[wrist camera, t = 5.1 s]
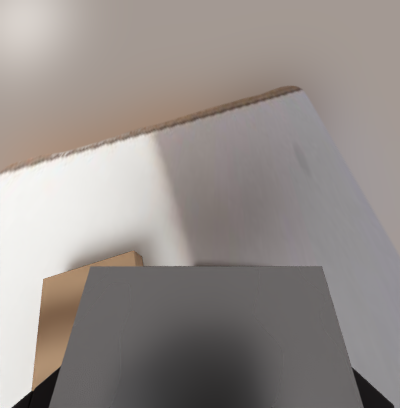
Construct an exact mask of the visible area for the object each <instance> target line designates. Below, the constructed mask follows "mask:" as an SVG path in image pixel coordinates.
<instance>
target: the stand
mask: <svg viewBox="0 0 400 408" xmlns="http://www.w3.org/2000/svg"><path fill="white" fill-rule="evenodd" d="M90 266H143V261H142V256H140V255H139V254H138V253H136V252H135V251H134V250H133V251H130V252H127V253H124V254H121V255H118V256H114V257H111V258H108V259H105V260H102V261H99V262H96V263H92V264H89V265H86V266H83V267H80V268H77V269H73V270H70V271H67V272H64V273H61V274H58V275H55V276H51V277H48V278H45V279H43V287H42V297H41V306H40V316H39V325H38V335H37V345H36V354H35V364H34V373H33V383H32V391H34V389H35V388H36V387H37V386H38V385H39V384H40V383H41V382H43V381H44V380H45V379H46V378H47V377H48V376H50V375H51V374H52V373H53V372H54V371H55V370H57V369H58V368H59V367H60V366H61V365H62V361H63V358H64V354H65V351H66V348H67V344H68V341H69V337H70V334H71V331H72V327H73V324H74V320H75V317H76V314H77V310H78V307H79V303H80V300H81V297H82V293H83V290H84V286H85V283H86V280H87V276H88V273H89V269H90Z"/></svg>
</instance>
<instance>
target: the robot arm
mask: <svg viewBox="0 0 400 408" xmlns="http://www.w3.org/2000/svg"><path fill="white" fill-rule="evenodd" d="M60 368H61V366H60V367H59V368H58V369H57V370H55V371H54V372H53V373H52V374H51V375H50V376H48V377H47V378H46V379H45V380H44V381H43V382H41V383H40V384H39V385H38V386H37V387H36V388H35V389H34V391H31V392H30V393H28V394H27V395H26V396H25V397H24V398H23V399H21V400H20V401H19V402H18V403H17V404H15V405H14V406H13V407H12V408H49V405H50V402H51V398H52V395H53V392H54V388H55V385H56V381H57V378H58V375H59V371H60ZM352 370H353V373H354V377H355V380H356V384H357V387H358V390H359V394H360V397H361V401H362V404H363V407H364V408H394V405H393V404H392V403H391V402H390V401H389V400H387V399H386V398H385V397H384V396H383V395H382V394H381V393H380V392H379V391H378V390H376V389H375V388H374V387H373V386H372V385H371V384H370V383H369V382H368V381H367V380H365V379H364V378H363V377H362V376H361V375H360V374H359V373H358V372H357V371H356V370H355V369H353V368H352Z"/></svg>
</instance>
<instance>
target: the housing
mask: <svg viewBox="0 0 400 408" xmlns="http://www.w3.org/2000/svg"><path fill="white" fill-rule="evenodd" d="M49 408H364V407H363V404H362V401H361V397H360V394H359V390H358V387H357V384H356V380H355V377H354V373H353V370H352V367H351V363H350V360H349V357H348V353H347V350H346V346H345V343H344V340H343V336H342V333H341V329H340V326H339V323H338V319H337V316H336V313H335V309H334V306H333V302H332V299H331V296H330V292H329V289H328V285H327V282H326V279H325V275H324V272H323V269H322V266H90V269H89V273H88V276H87V280H86V283H85V286H84V290H83V293H82V297H81V300H80V303H79V307H78V310H77V314H76V317H75V320H74V324H73V327H72V331H71V334H70V337H69V341H68V344H67V348H66V351H65V354H64V358H63V361H62V365H61V368H60V371H59V375H58V378H57V381H56V385H55V388H54V392H53V395H52V398H51V402H50V405H49Z"/></svg>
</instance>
